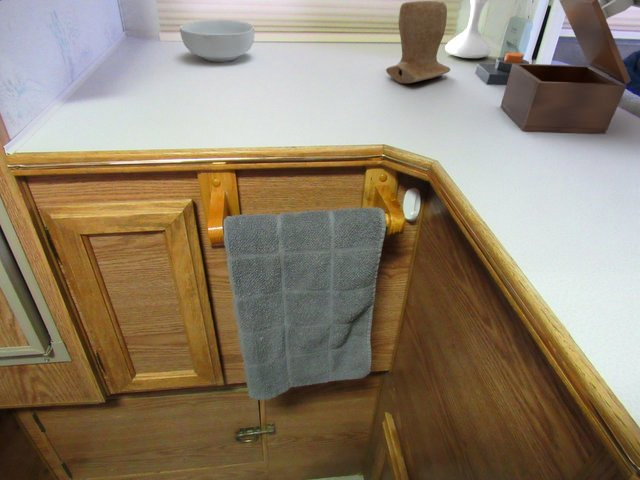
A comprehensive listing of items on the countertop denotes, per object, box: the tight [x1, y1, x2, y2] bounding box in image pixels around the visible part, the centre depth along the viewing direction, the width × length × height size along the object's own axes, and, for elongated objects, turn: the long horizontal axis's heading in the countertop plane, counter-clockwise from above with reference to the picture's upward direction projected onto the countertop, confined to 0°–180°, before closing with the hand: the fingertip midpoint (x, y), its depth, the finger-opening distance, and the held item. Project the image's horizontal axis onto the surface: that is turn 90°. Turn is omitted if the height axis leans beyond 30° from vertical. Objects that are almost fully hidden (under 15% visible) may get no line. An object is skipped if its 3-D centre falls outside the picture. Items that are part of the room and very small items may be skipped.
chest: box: [499, 63, 628, 135], centre depth 72 cm, size 14×12×8 cm
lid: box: [558, 0, 632, 85], centre depth 66 cm, size 14×12×1 cm
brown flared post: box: [385, 0, 451, 84], centre depth 89 cm, size 15×12×15 cm
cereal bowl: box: [179, 19, 255, 63], centre depth 100 cm, size 17×17×7 cm
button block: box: [474, 56, 530, 86], centre depth 93 cm, size 12×9×4 cm
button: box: [504, 51, 524, 63], centre depth 91 cm, size 4×4×2 cm
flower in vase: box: [444, 0, 492, 59], centre depth 104 cm, size 13×11×25 cm
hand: (589, 19), depth 65 cm, fingers closed, pressing on lid
